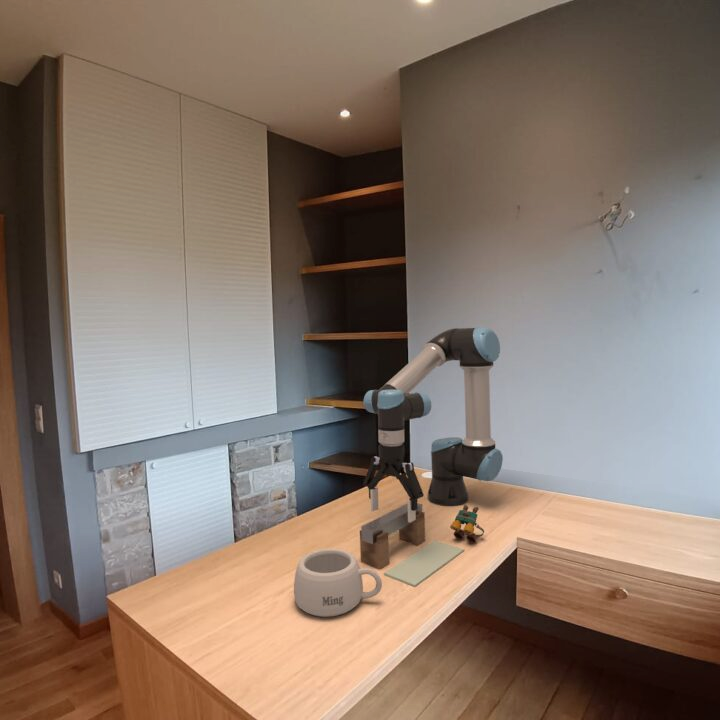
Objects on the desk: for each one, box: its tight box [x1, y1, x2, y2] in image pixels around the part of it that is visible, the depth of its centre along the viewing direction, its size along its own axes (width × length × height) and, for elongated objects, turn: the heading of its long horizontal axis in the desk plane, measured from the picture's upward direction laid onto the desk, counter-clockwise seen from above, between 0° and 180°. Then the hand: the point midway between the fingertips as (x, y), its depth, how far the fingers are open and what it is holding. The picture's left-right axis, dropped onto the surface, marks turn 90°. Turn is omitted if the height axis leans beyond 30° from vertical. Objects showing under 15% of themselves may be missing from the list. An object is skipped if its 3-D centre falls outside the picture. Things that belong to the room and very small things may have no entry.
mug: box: [293, 548, 383, 618], centre depth 116 cm, size 21×17×10 cm
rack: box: [359, 511, 426, 570], centre depth 141 cm, size 7×22×9 cm, turn 139°
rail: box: [360, 502, 423, 544], centre depth 141 cm, size 4×24×4 cm, turn 139°
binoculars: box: [450, 504, 485, 544], centre depth 148 cm, size 9×9×10 cm
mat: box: [383, 539, 465, 588], centre depth 134 cm, size 10×25×1 cm, turn 139°
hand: (392, 515), depth 140 cm, fingers open, 13 cm apart
